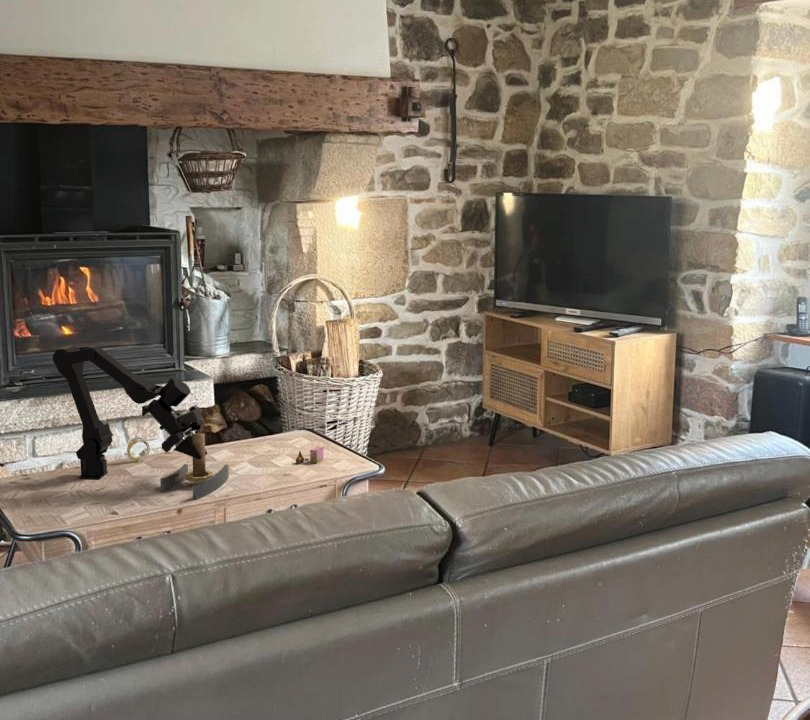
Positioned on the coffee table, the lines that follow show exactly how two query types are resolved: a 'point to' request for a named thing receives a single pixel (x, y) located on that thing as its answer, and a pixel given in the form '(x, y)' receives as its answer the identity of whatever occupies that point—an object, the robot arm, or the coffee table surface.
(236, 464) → the coffee table surface
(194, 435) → the brown cylinder
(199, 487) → the gray curved bar
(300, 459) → the perfume bottle
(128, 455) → the ring
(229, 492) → the coffee table surface
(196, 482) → the tile
